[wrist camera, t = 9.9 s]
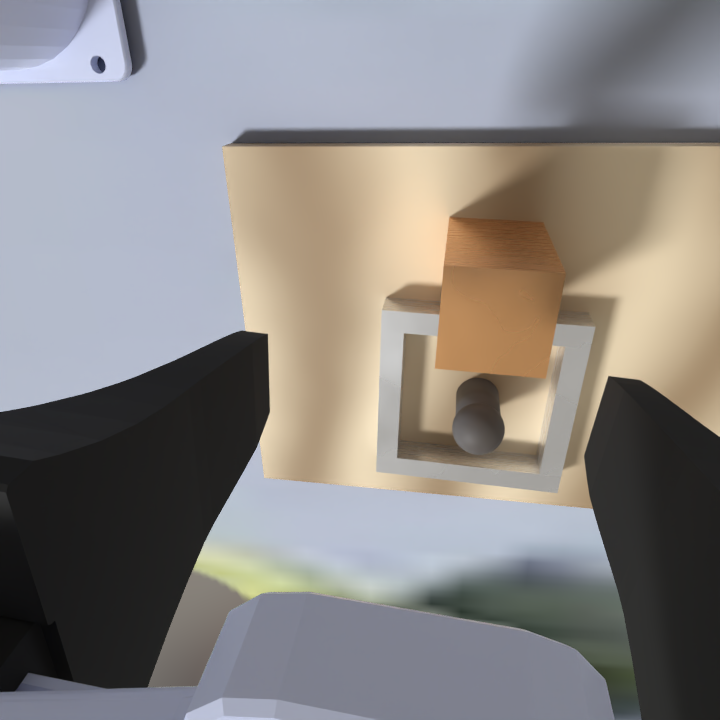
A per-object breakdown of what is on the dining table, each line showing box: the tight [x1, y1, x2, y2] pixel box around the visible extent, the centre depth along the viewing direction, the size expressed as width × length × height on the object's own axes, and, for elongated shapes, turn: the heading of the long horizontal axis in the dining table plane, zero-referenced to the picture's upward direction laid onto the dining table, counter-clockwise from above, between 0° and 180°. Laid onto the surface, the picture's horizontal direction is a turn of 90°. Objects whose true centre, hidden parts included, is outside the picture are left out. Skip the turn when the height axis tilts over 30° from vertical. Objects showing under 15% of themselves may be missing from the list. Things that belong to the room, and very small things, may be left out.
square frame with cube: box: [376, 217, 595, 493], centre depth 19 cm, size 10×7×5 cm
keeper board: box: [222, 143, 720, 509], centre depth 20 cm, size 18×14×4 cm
